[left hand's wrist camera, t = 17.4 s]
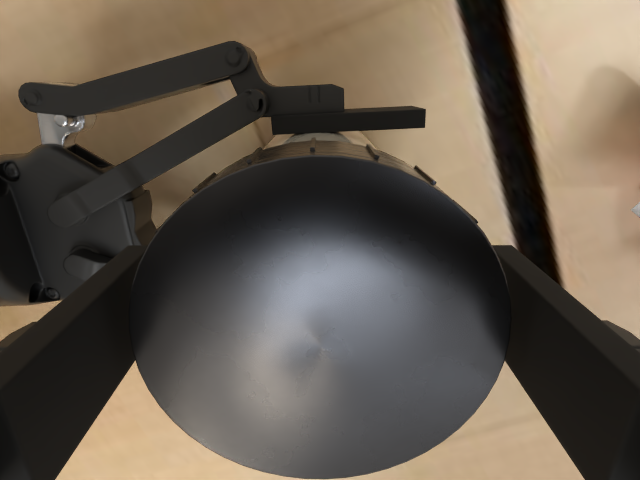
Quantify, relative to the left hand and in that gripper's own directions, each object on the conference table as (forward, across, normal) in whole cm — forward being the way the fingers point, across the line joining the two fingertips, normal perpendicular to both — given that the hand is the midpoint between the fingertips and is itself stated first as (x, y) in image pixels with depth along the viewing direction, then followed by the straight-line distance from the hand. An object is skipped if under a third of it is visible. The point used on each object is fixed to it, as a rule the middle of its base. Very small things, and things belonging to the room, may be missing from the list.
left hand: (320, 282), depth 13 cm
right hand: (+7, -5, 0) cm, 8 cm away
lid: (-3, 0, 0) cm, 3 cm away
